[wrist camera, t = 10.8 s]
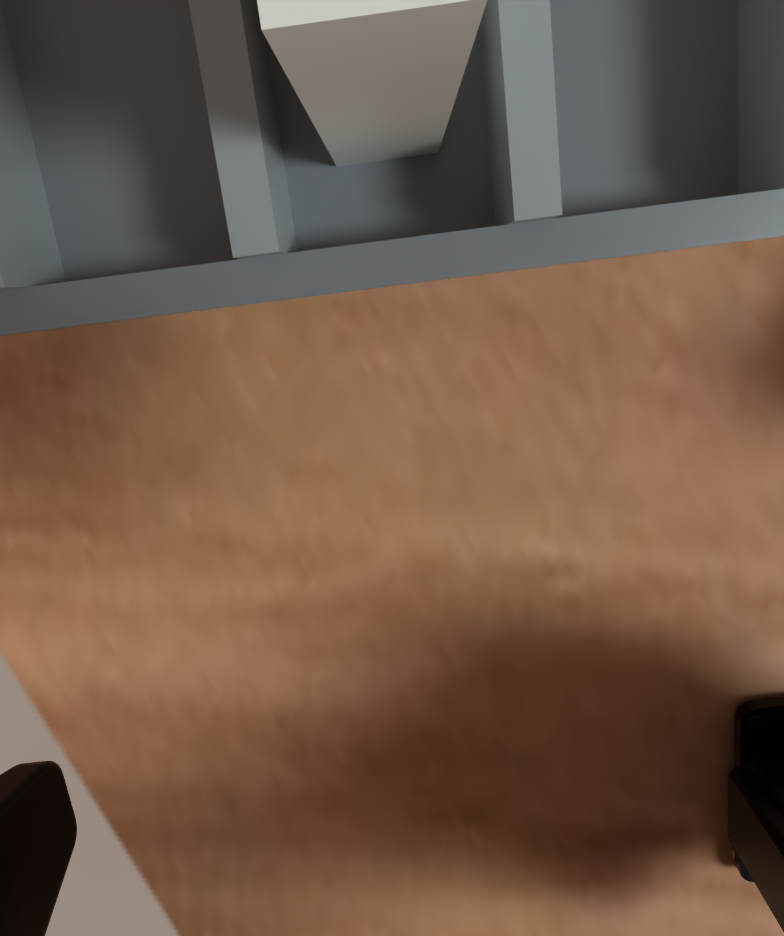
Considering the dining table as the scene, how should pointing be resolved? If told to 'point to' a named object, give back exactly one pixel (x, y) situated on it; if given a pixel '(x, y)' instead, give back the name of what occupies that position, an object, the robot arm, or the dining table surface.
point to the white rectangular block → (374, 69)
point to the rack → (373, 183)
